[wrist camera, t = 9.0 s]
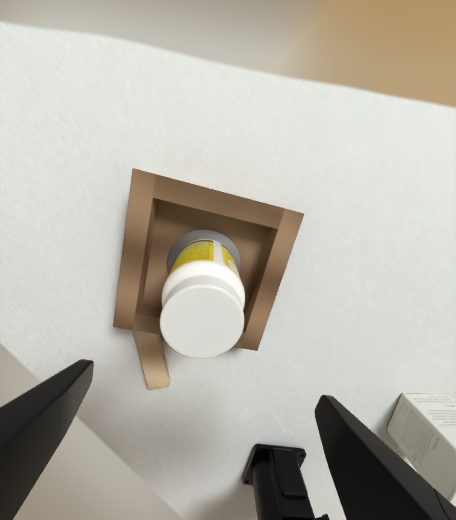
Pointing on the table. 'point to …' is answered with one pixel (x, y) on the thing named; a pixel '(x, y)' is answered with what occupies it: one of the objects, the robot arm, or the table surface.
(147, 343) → the tan wooden flat bar
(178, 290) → the supplement bottle
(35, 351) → the table surface
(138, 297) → the holder
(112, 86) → the table surface
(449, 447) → the skincare box
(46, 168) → the table surface
